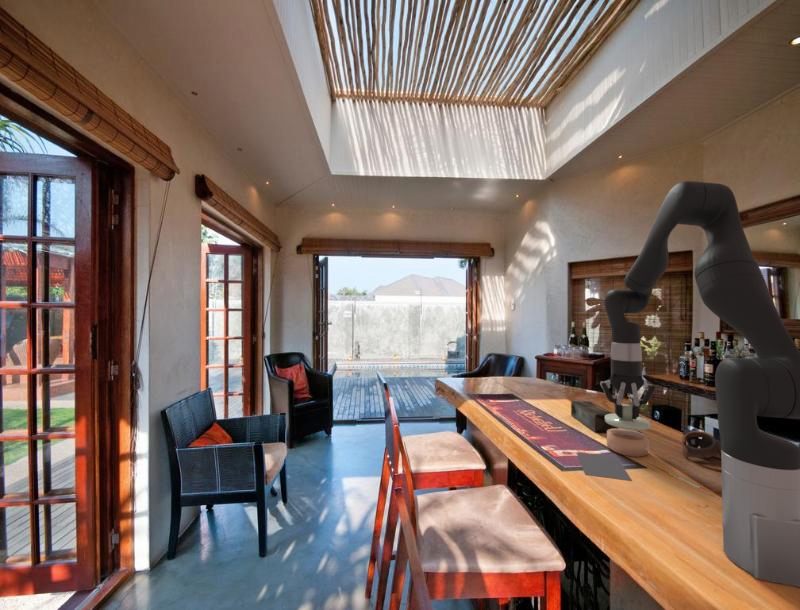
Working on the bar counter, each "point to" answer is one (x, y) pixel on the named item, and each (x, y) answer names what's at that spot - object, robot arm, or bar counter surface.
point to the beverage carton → (591, 415)
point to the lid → (627, 420)
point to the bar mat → (603, 466)
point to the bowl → (627, 442)
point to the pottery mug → (707, 445)
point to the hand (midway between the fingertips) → (626, 417)
